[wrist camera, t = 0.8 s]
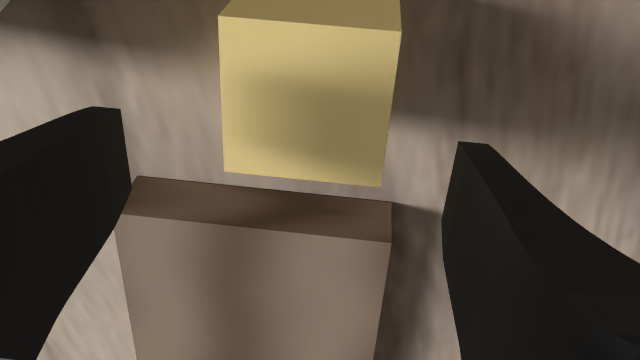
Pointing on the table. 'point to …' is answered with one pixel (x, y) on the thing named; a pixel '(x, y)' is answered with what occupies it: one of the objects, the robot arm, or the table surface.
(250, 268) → the walnut plinth
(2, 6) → the teacup
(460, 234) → the robot arm
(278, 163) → the mustard block
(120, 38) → the table surface
